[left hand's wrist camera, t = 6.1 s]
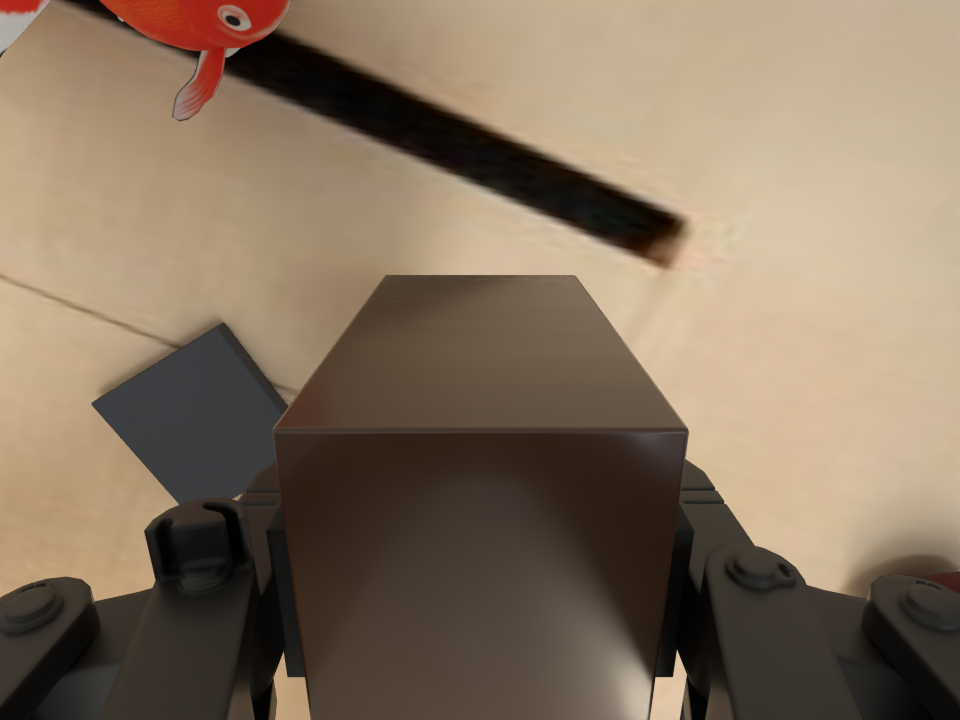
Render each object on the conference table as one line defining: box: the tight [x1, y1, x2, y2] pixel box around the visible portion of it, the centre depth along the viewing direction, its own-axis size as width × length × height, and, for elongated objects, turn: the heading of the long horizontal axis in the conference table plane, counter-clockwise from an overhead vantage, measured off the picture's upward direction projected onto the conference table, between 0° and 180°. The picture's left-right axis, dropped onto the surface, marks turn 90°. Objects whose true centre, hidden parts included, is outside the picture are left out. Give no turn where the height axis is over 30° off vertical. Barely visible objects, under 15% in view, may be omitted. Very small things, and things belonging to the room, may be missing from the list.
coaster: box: [92, 323, 288, 505], centre depth 30 cm, size 8×8×1 cm
